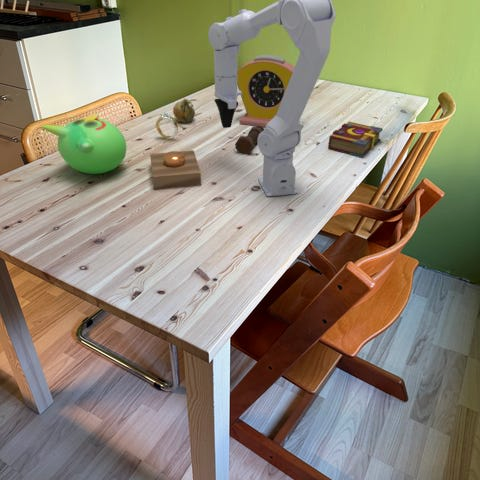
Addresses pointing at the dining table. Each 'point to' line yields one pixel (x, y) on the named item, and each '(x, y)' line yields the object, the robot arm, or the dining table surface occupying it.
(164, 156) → the orange short cylinder
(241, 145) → the bolt
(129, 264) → the dining table surface
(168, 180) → the block
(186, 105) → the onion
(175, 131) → the ring
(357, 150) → the decorative book
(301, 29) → the robot arm
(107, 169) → the toy bird
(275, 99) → the yellow mantel clock
